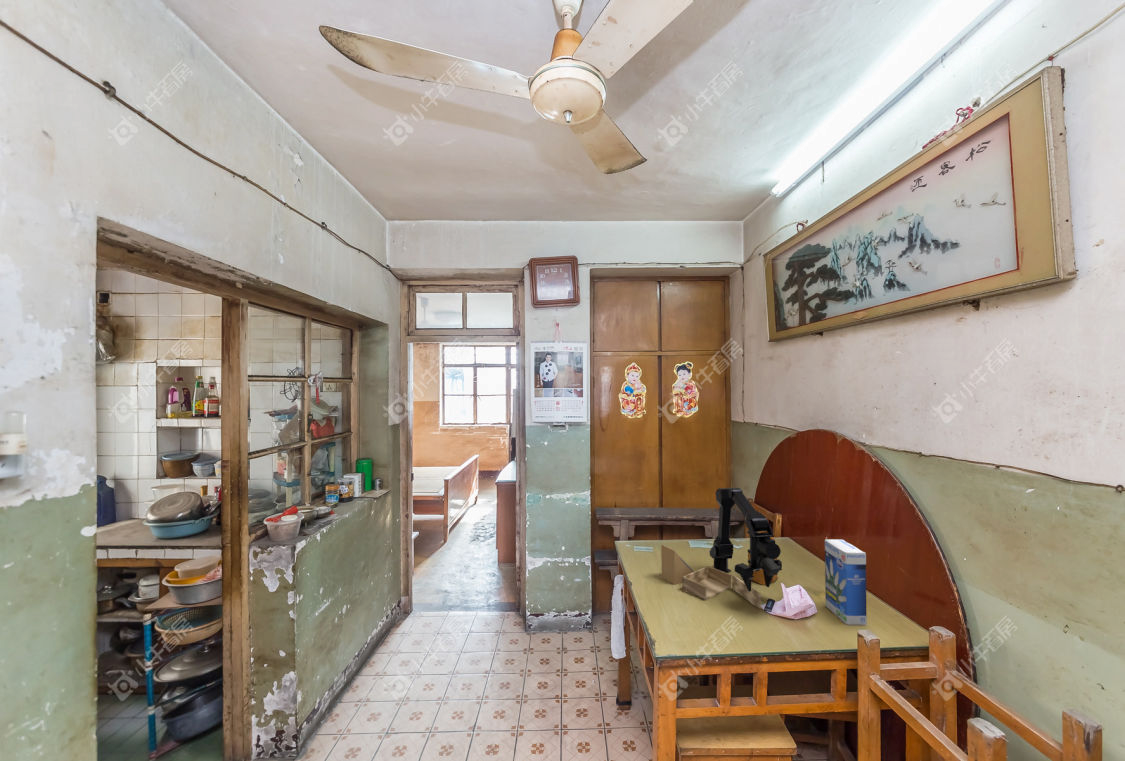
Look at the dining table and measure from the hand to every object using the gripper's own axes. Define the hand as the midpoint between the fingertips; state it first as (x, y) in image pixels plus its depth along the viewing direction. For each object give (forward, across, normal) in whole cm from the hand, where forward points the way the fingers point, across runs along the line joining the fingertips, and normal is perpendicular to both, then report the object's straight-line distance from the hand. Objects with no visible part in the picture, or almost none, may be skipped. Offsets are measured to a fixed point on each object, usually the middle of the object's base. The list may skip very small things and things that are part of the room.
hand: (758, 589), depth 165 cm
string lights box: (+6, +24, -18) cm, 30 cm away
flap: (+6, -1, +5) cm, 8 cm away
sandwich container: (+6, -13, +31) cm, 34 cm away
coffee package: (+6, +19, +16) cm, 25 cm away
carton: (+6, -10, +18) cm, 21 cm away
